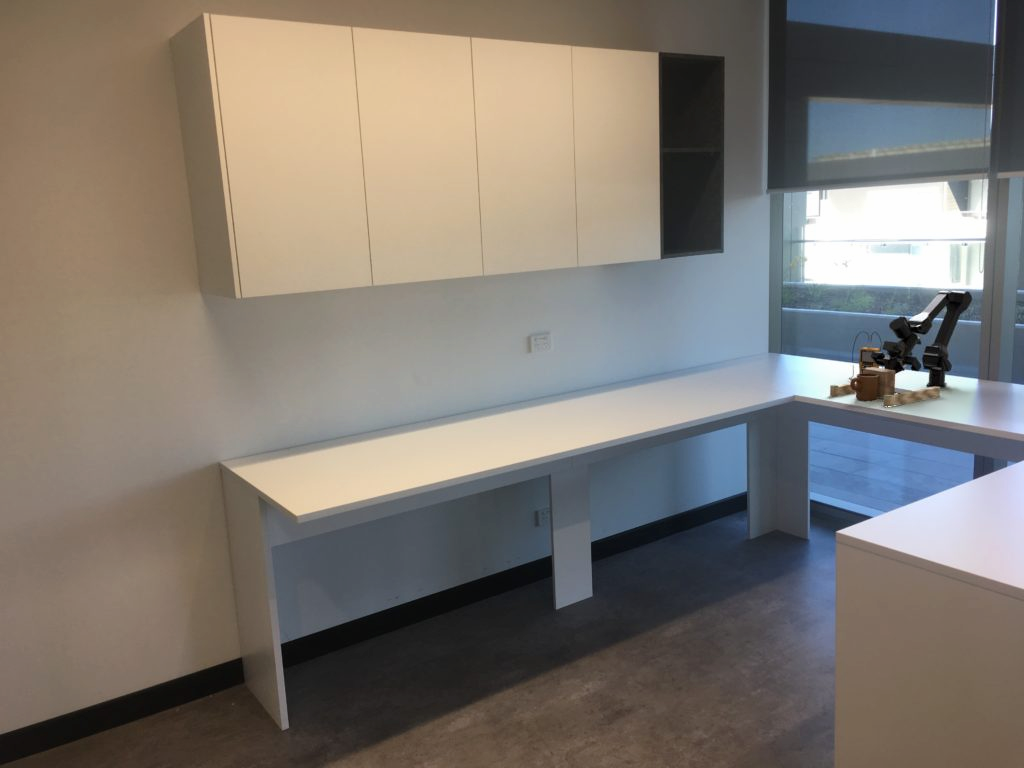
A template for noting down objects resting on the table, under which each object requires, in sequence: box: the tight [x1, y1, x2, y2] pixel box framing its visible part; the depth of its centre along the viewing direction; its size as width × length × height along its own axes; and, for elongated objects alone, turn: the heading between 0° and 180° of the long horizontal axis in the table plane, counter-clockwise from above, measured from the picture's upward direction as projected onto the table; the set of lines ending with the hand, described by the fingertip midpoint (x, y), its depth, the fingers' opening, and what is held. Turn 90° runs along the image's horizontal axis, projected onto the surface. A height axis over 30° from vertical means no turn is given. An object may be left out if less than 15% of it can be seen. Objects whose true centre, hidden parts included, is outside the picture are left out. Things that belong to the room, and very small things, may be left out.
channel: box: [829, 382, 941, 408], centre depth 312 cm, size 28×26×4 cm
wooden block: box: [863, 367, 896, 399], centre depth 310 cm, size 5×10×10 cm, turn 27°
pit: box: [895, 387, 913, 394], centre depth 317 cm, size 7×21×1 cm, turn 27°
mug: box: [849, 373, 879, 402], centre depth 307 cm, size 12×8×9 cm, turn 115°
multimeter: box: [848, 331, 884, 381], centre depth 340 cm, size 15×10×20 cm
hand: (884, 378), depth 311 cm, fingers closed, pressing on wooden block
